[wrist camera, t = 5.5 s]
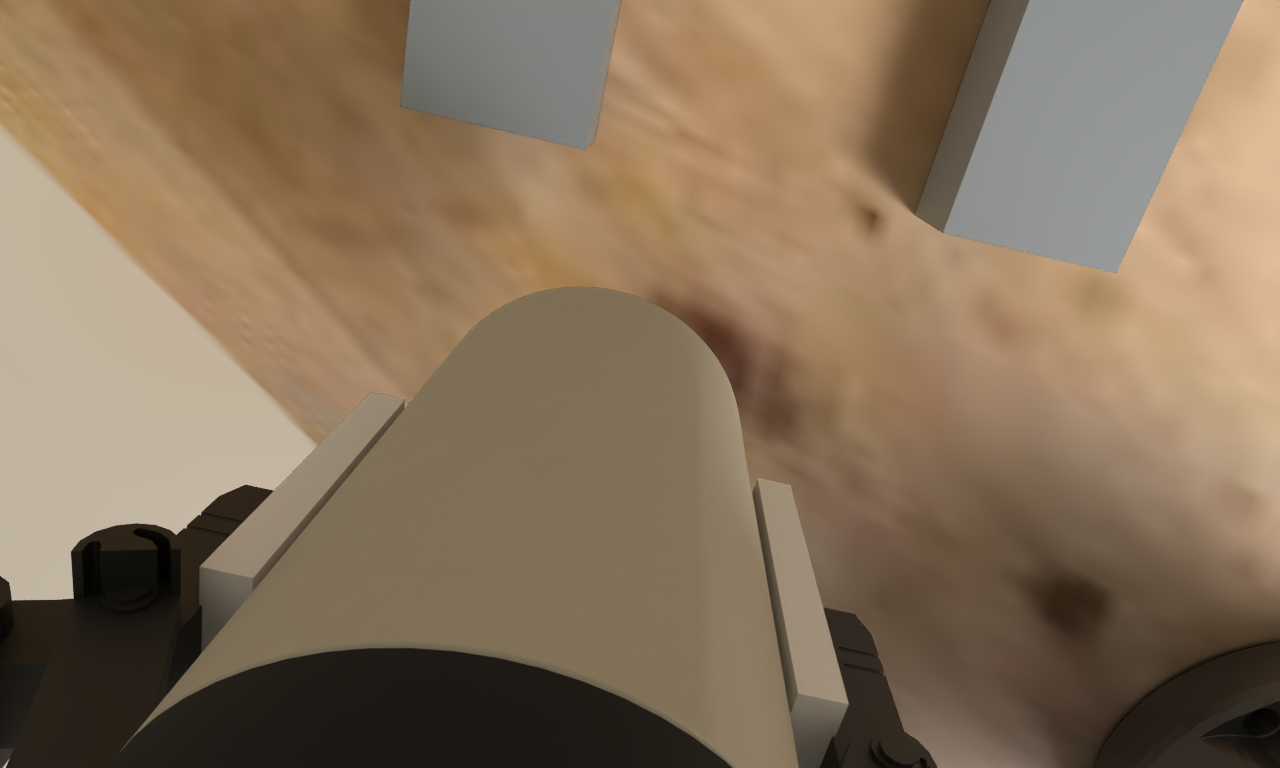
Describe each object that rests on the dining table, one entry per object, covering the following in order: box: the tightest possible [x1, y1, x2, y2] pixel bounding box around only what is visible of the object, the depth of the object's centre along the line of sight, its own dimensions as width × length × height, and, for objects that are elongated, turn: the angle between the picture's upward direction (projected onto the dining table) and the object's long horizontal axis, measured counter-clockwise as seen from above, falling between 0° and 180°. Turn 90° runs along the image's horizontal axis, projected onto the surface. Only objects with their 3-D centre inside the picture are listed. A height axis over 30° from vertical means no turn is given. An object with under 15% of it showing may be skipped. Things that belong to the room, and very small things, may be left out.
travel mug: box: [107, 287, 799, 768], centre depth 12 cm, size 8×8×18 cm
